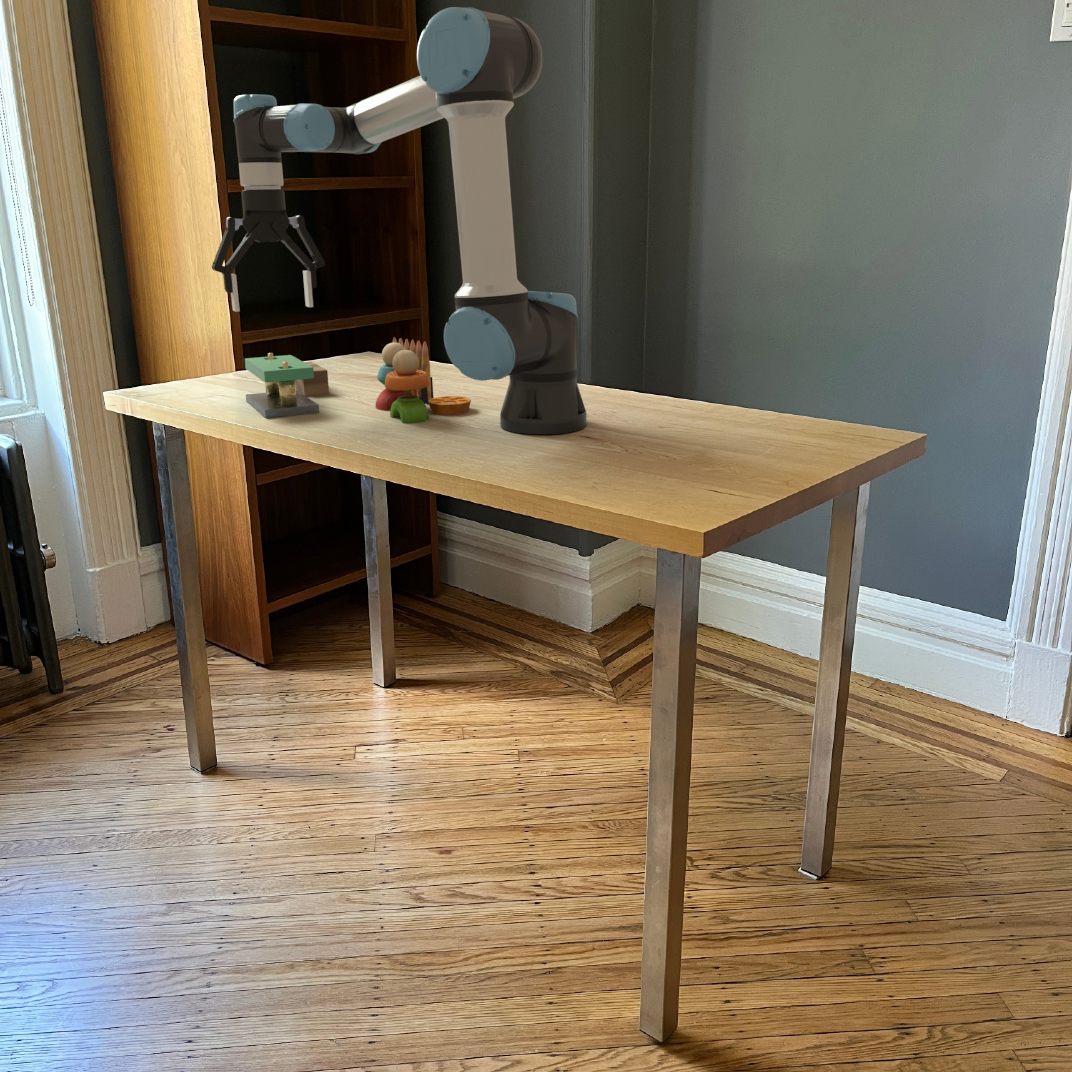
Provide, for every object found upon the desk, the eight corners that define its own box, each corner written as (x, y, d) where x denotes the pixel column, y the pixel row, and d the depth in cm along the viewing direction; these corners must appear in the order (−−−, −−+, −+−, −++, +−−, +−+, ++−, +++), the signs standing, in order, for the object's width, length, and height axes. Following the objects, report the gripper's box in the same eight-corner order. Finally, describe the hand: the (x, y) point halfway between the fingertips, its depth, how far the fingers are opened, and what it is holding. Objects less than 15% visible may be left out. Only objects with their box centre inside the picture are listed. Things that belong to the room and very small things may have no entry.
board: (314, 378, 193) (313, 367, 192) (265, 382, 189) (264, 371, 188) (291, 365, 207) (290, 354, 207) (245, 368, 203) (244, 358, 203)
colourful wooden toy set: (482, 413, 194) (480, 345, 190) (399, 425, 185) (395, 354, 181) (436, 398, 208) (433, 335, 204) (356, 408, 199) (352, 342, 195)
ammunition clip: (434, 403, 203) (431, 341, 199) (427, 404, 201) (424, 342, 197) (398, 396, 209) (395, 336, 206) (390, 398, 208) (387, 337, 204)
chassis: (319, 412, 195) (315, 361, 192) (265, 418, 191) (260, 366, 188) (296, 397, 209) (292, 349, 206) (246, 402, 205) (241, 353, 202)
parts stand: (329, 394, 212) (327, 370, 210) (304, 397, 210) (302, 372, 208) (313, 385, 222) (311, 361, 220) (290, 387, 220) (288, 363, 218)
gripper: (324, 187, 196) (333, 303, 203) (187, 189, 185) (200, 310, 192) (336, 187, 189) (344, 306, 196) (194, 189, 179) (207, 314, 186)
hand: (273, 308), depth 194 cm, fingers open, 13 cm apart
